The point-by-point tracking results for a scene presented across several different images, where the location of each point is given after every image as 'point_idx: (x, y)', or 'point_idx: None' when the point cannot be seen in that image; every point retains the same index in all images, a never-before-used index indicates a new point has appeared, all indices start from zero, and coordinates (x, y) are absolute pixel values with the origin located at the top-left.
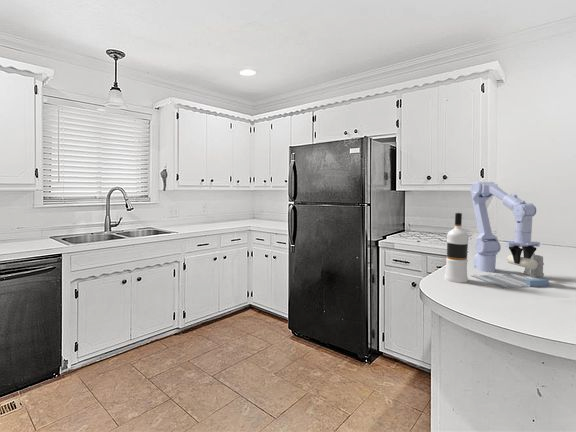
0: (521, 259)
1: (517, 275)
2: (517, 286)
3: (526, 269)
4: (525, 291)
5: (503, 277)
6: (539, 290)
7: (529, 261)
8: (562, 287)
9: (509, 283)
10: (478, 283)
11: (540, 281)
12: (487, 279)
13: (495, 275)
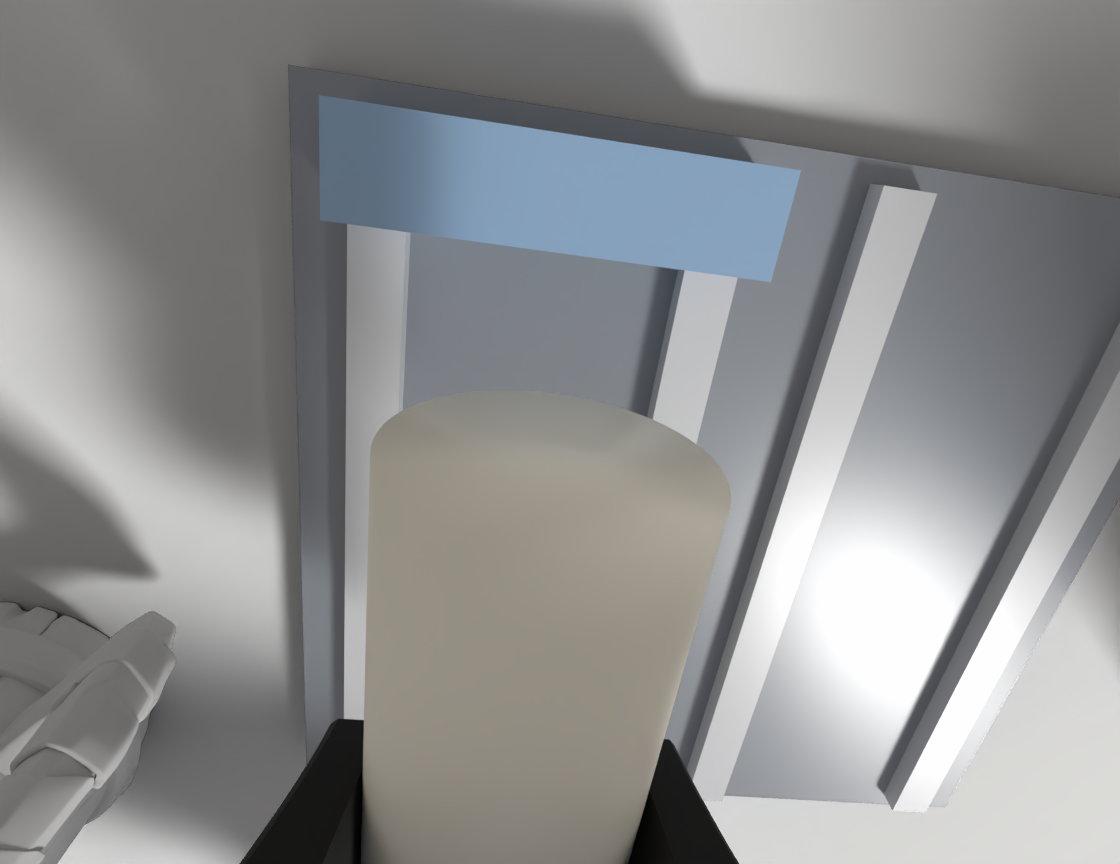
0: (626, 839)
1: None
2: (947, 239)
3: (82, 811)
4: (954, 69)
5: None
6: (649, 49)
7: (702, 568)
8: (8, 95)
9: (870, 420)
10: (1108, 587)
11: (544, 130)
12: (1028, 609)
13: None
